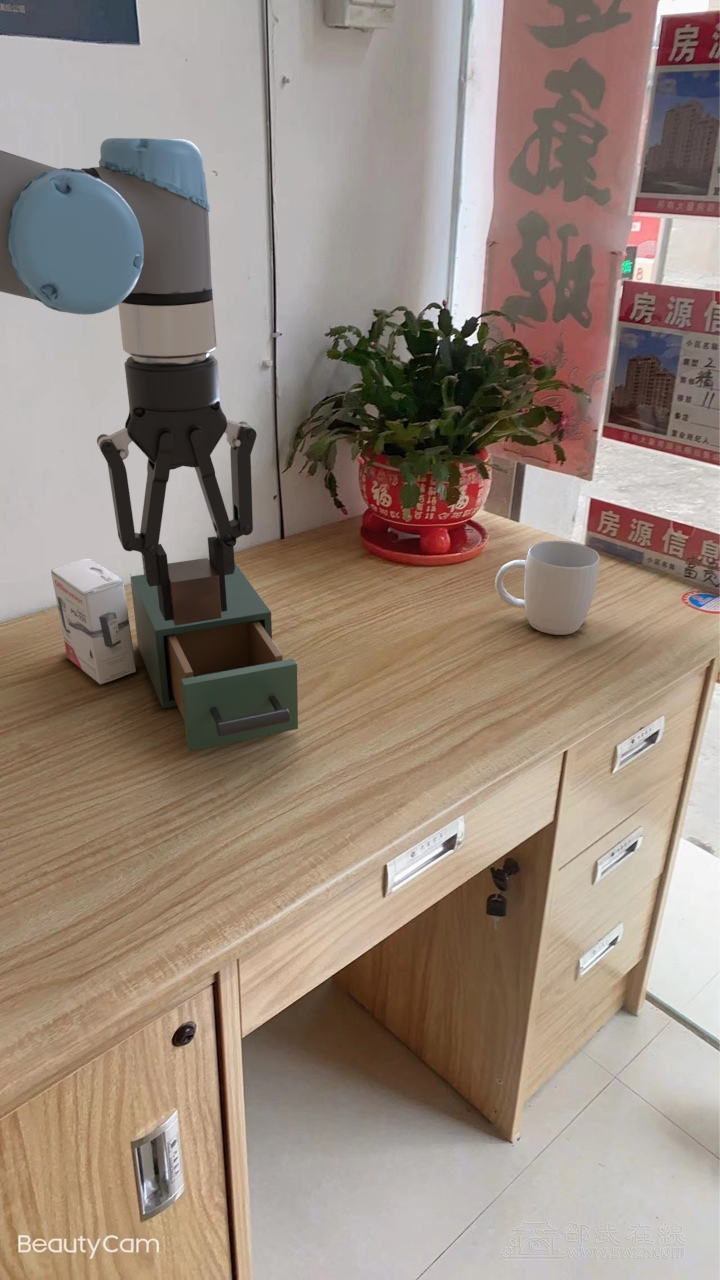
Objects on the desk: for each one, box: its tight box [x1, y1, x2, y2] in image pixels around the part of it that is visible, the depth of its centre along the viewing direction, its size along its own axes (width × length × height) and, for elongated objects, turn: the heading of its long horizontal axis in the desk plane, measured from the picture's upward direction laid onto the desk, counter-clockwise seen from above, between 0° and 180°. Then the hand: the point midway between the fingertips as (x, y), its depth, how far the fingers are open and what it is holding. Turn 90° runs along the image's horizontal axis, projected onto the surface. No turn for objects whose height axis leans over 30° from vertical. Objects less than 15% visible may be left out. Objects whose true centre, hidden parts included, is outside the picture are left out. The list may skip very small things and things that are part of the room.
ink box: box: [50, 558, 137, 685], centre depth 101 cm, size 9×5×12 cm, turn 43°
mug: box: [494, 540, 601, 636], centre depth 114 cm, size 13×9×10 cm
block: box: [168, 557, 222, 626], centre depth 82 cm, size 4×4×4 cm
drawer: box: [163, 620, 299, 753], centre depth 91 cm, size 18×11×8 cm, turn 23°
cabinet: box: [129, 562, 273, 709], centre depth 102 cm, size 15×13×10 cm
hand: (193, 609), depth 83 cm, fingers closed on block, 4 cm apart
